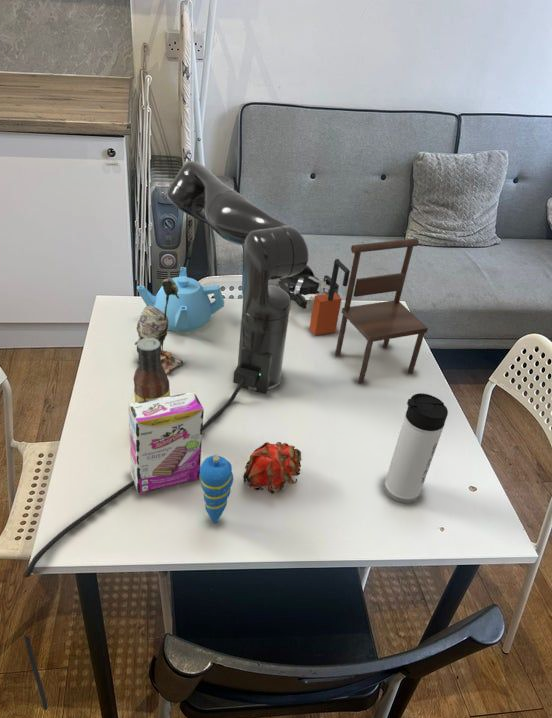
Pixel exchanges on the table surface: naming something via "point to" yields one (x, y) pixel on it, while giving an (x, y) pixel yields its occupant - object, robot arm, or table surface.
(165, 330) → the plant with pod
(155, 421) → the candy bar box
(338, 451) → the table surface
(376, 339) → the chair
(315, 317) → the orange open padlock
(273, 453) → the dragon fruit
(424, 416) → the travel mug
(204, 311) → the teapot
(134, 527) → the table surface
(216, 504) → the ornament
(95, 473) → the table surface
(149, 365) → the sauce bottle
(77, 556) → the table surface
